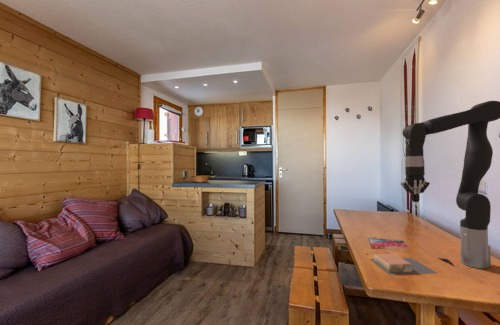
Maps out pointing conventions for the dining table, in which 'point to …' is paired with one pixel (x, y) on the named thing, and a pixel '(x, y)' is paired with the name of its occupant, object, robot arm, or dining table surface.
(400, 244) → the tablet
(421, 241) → the dining table surface
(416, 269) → the mat
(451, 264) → the cell phone
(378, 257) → the tile
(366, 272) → the dining table surface
